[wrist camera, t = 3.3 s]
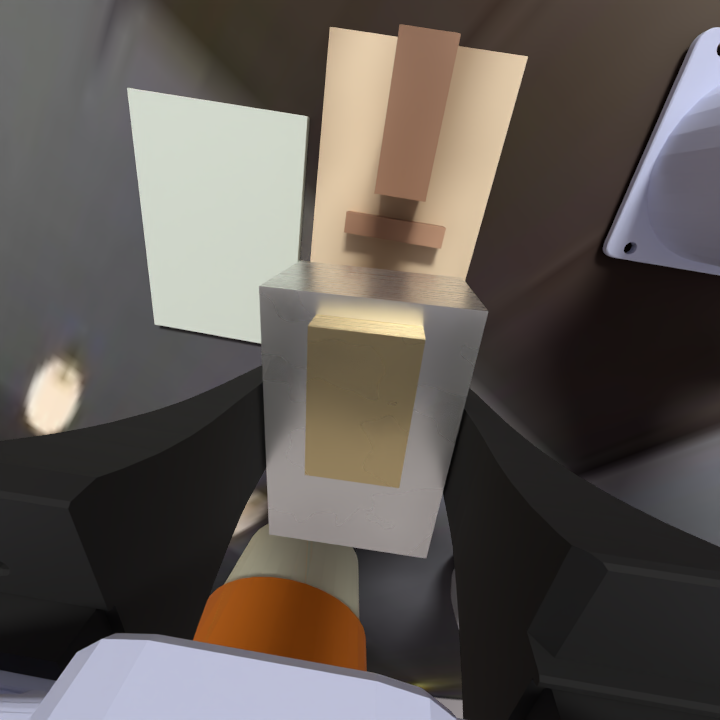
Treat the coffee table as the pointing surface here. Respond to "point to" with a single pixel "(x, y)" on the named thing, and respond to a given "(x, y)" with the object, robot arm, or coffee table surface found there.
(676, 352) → the coffee table surface
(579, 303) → the coffee table surface
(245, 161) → the felt pad
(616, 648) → the robot arm
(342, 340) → the brass-inlaid steel block
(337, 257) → the hand plane
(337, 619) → the reusable coffee cup
